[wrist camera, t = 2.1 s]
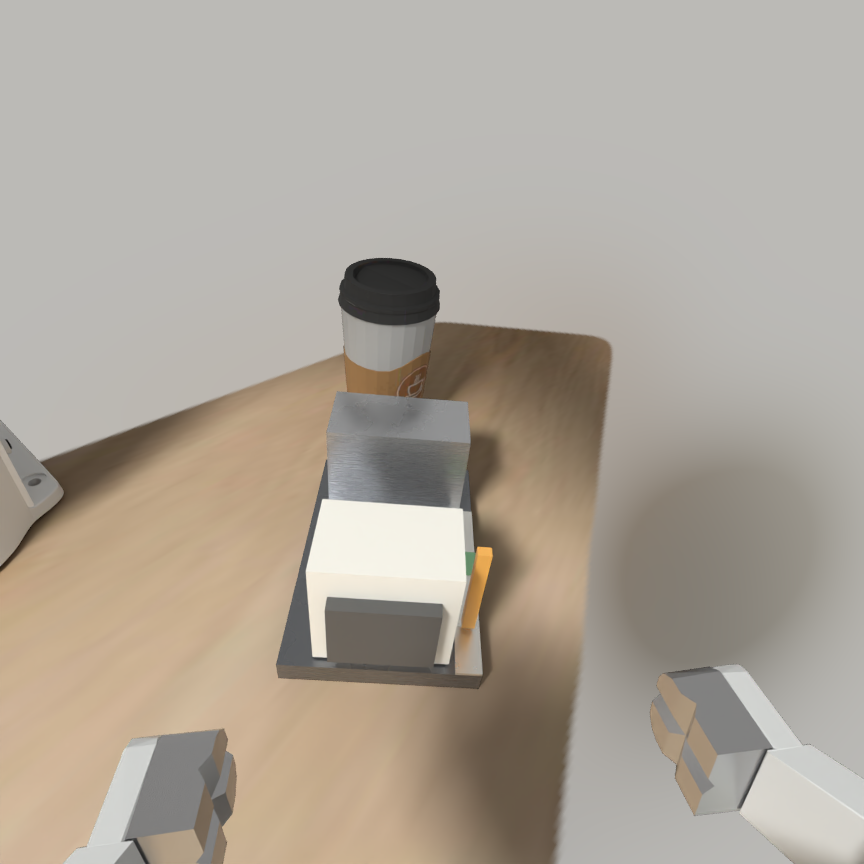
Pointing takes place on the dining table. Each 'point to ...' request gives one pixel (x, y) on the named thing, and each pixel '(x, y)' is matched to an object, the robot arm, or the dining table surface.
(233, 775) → the robot arm
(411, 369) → the coffee cup
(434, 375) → the dining table surface
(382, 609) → the cream rectangular block
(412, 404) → the base
